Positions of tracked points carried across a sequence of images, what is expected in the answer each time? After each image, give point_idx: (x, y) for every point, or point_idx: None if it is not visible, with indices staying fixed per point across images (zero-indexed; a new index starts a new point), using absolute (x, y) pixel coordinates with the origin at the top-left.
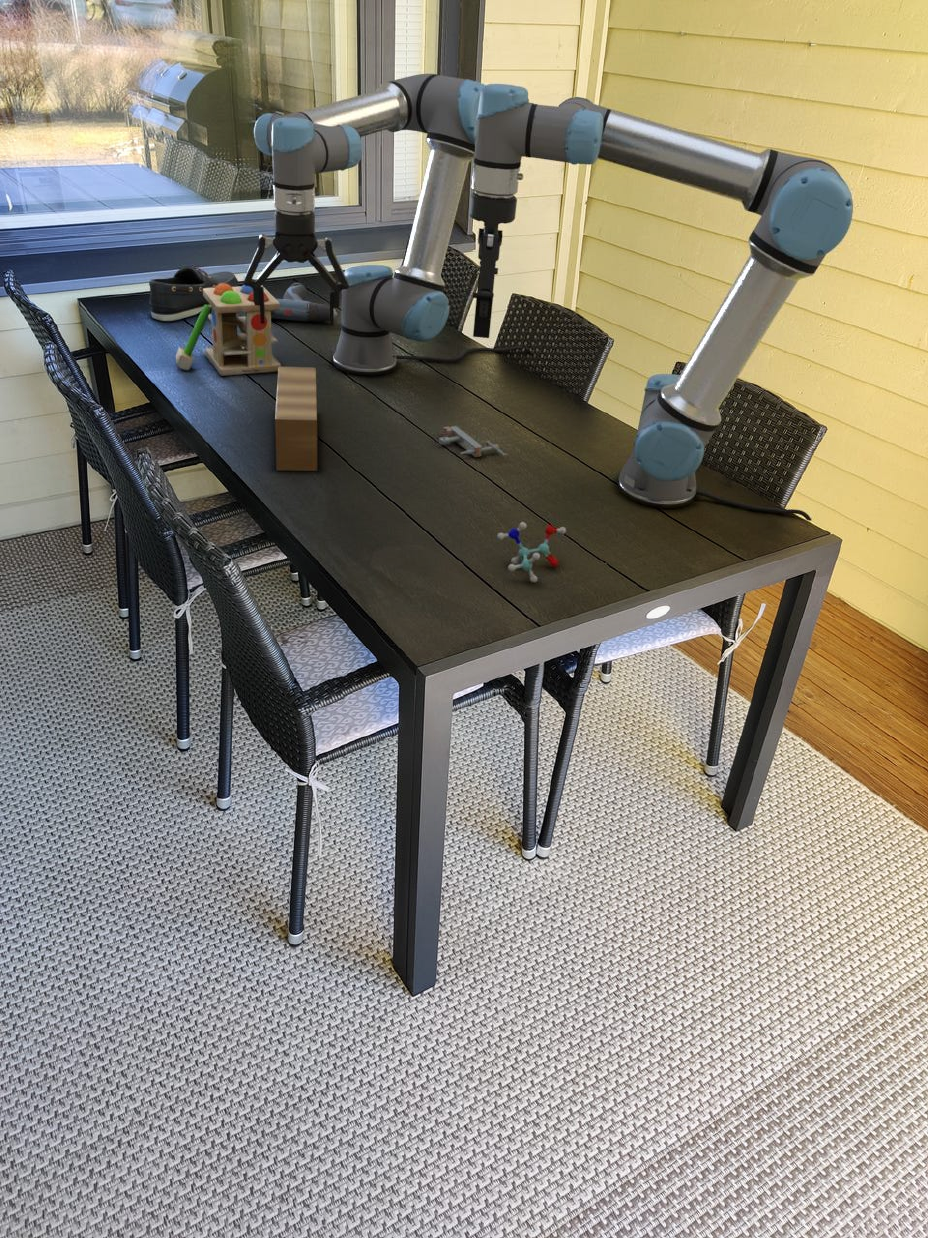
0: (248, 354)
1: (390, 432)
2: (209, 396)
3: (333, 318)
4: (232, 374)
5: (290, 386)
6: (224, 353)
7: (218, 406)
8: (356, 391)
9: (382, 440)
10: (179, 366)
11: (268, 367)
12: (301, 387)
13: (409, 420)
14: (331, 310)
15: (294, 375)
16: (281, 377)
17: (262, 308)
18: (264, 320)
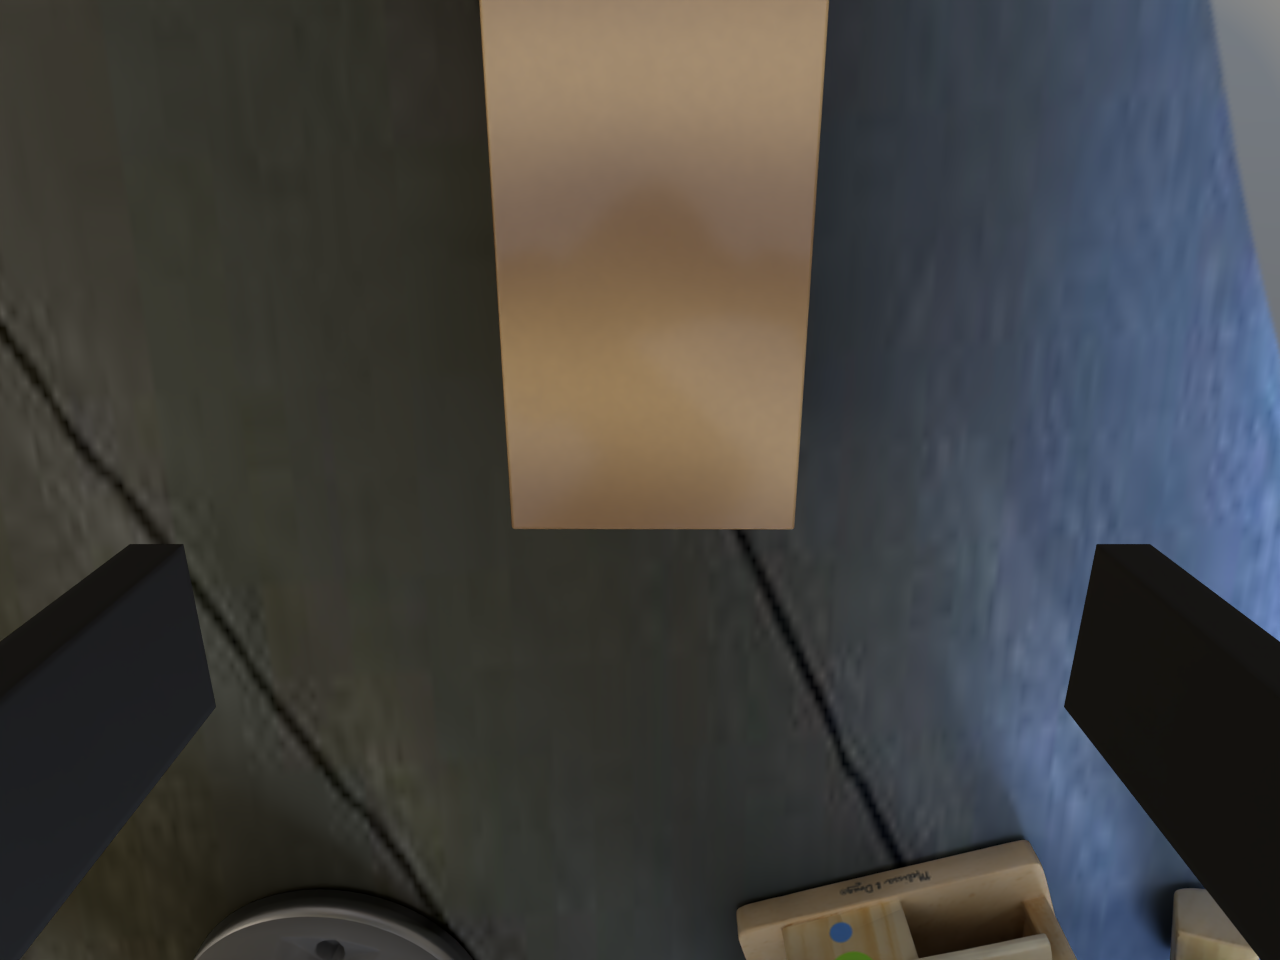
0: (915, 956)
1: (105, 188)
2: None
3: (71, 592)
4: (973, 851)
5: (708, 82)
6: (1049, 945)
7: (1077, 492)
8: (356, 718)
9: (135, 59)
10: None
11: (798, 911)
12: (612, 63)
13: (24, 371)
14: (15, 659)
15: (673, 350)
16: (779, 296)
17: (1256, 660)
18: (1110, 581)
